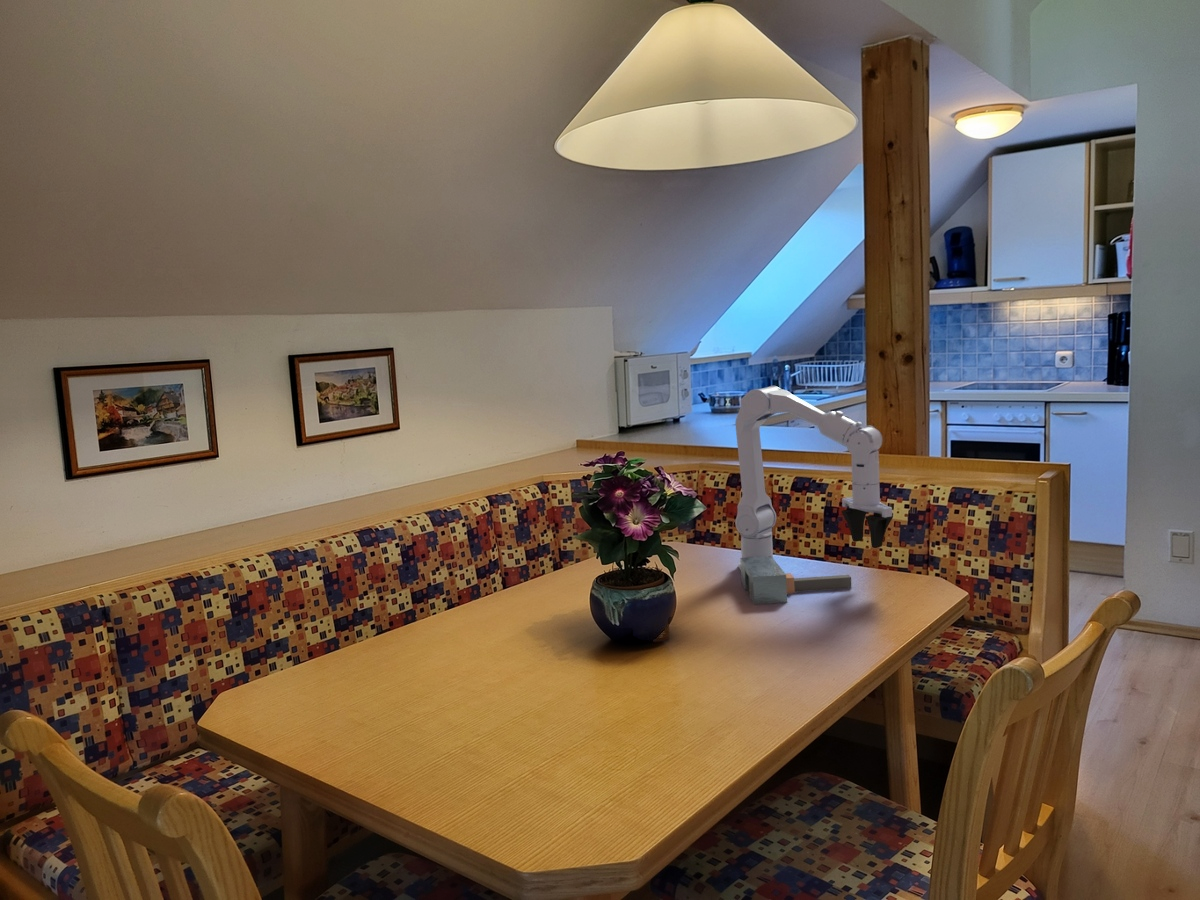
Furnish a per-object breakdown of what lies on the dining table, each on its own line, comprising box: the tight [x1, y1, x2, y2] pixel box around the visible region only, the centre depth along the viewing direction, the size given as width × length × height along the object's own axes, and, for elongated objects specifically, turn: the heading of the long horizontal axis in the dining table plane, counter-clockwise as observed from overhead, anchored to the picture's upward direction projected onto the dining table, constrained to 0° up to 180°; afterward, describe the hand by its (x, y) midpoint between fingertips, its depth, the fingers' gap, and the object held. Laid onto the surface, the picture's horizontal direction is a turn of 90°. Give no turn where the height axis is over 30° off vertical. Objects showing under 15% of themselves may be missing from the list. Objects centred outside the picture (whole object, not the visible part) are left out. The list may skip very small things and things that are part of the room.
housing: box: [739, 556, 788, 605], centre depth 203 cm, size 16×7×6 cm, turn 1°
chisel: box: [785, 573, 852, 595], centre depth 203 cm, size 4×18×4 cm, turn 91°
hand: (867, 543), depth 202 cm, fingers open, 6 cm apart
